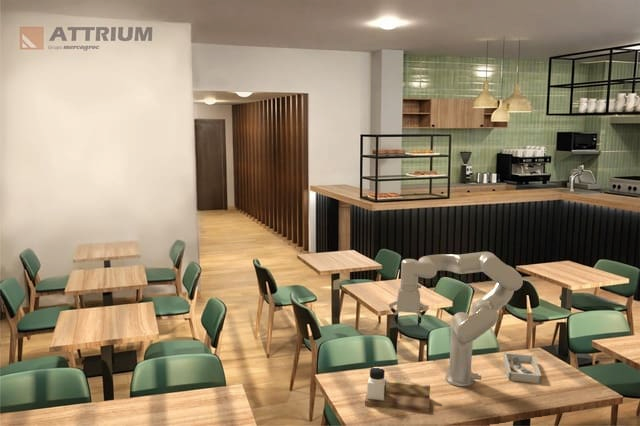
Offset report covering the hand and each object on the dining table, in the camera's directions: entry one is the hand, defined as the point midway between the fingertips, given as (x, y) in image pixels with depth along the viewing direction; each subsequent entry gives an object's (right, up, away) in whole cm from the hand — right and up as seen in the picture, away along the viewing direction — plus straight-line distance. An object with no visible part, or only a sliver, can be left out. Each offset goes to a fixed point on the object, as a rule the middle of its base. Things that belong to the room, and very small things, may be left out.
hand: (407, 323), depth 249 cm
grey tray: (+56, -25, +14) cm, 63 cm away
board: (-7, -29, -16) cm, 34 cm away
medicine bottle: (-16, -27, -16) cm, 35 cm away
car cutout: (+56, -25, +14) cm, 63 cm away
